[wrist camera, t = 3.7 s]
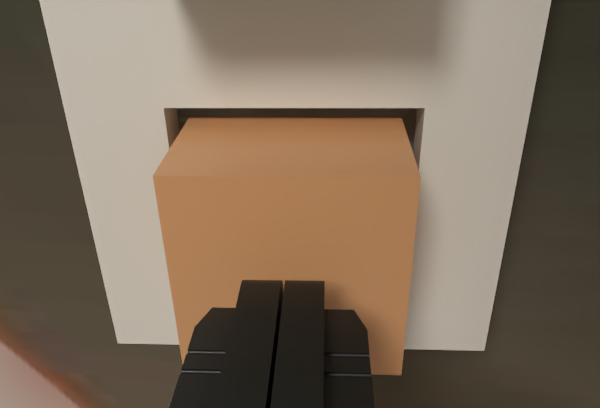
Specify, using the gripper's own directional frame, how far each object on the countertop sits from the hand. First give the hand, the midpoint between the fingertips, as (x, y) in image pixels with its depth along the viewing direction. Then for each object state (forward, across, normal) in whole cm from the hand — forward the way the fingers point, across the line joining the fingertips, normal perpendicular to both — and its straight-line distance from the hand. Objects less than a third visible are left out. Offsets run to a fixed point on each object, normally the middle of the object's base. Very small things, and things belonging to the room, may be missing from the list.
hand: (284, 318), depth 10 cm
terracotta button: (+4, 0, 0) cm, 4 cm away
